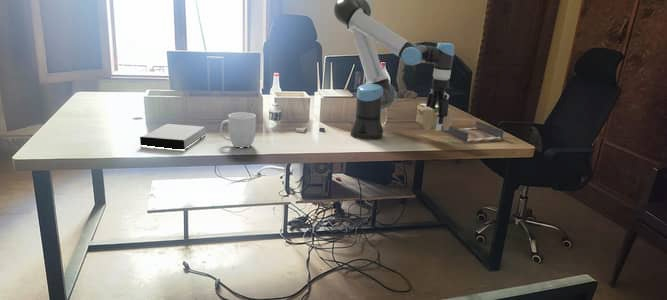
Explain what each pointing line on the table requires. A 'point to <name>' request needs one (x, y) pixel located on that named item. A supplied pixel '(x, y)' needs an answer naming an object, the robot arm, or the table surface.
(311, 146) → the table surface
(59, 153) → the table surface
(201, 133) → the disc drive
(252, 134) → the mug
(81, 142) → the table surface
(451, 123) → the toy train
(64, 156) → the table surface
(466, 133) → the depot bay
